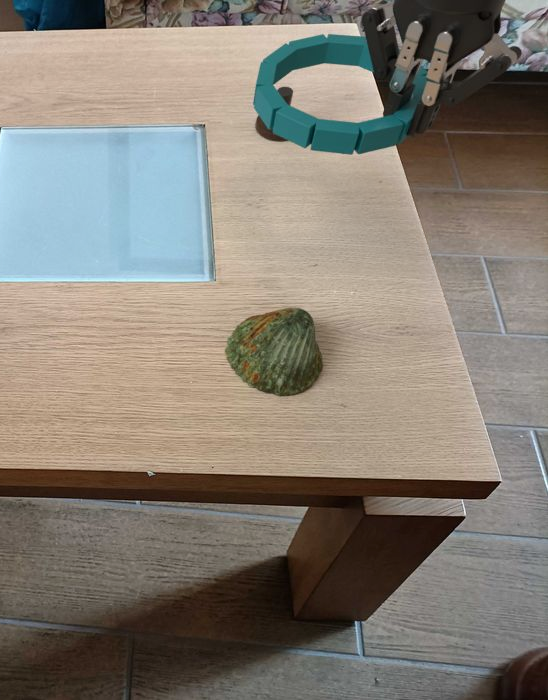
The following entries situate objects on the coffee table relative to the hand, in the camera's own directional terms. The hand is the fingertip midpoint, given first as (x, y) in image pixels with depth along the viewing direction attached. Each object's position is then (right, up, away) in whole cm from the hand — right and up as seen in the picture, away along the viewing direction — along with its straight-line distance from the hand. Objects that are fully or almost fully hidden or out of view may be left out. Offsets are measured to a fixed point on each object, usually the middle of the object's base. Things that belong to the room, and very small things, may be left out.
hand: (403, 127), depth 63 cm
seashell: (-10, -21, +6) cm, 25 cm away
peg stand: (-4, +9, +27) cm, 29 cm away
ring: (-5, +4, +4) cm, 7 cm away
